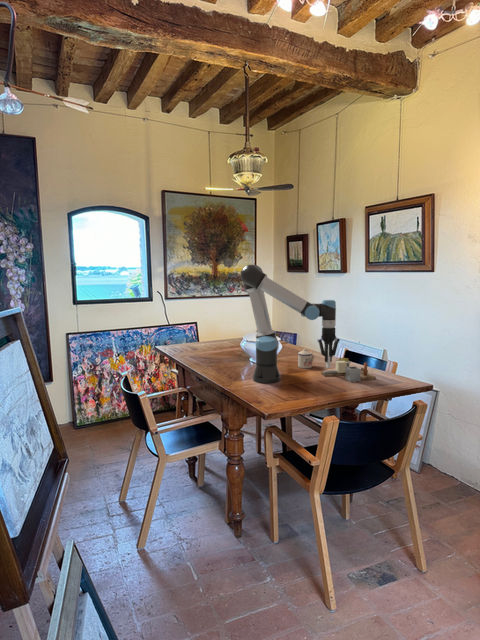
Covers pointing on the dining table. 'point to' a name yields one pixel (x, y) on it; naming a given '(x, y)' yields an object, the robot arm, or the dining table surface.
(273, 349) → the robot arm
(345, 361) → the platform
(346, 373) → the grey hollow square block
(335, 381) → the dining table surface
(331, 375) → the rail
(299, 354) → the teacup with lid
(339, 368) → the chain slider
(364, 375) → the square plate with peg
